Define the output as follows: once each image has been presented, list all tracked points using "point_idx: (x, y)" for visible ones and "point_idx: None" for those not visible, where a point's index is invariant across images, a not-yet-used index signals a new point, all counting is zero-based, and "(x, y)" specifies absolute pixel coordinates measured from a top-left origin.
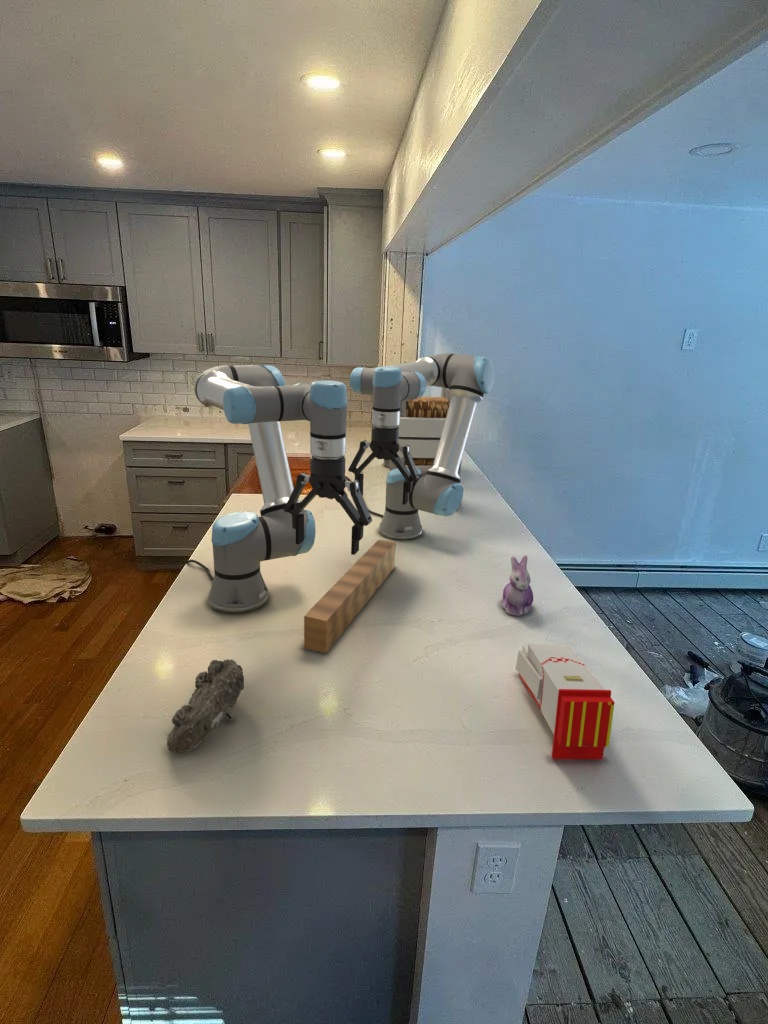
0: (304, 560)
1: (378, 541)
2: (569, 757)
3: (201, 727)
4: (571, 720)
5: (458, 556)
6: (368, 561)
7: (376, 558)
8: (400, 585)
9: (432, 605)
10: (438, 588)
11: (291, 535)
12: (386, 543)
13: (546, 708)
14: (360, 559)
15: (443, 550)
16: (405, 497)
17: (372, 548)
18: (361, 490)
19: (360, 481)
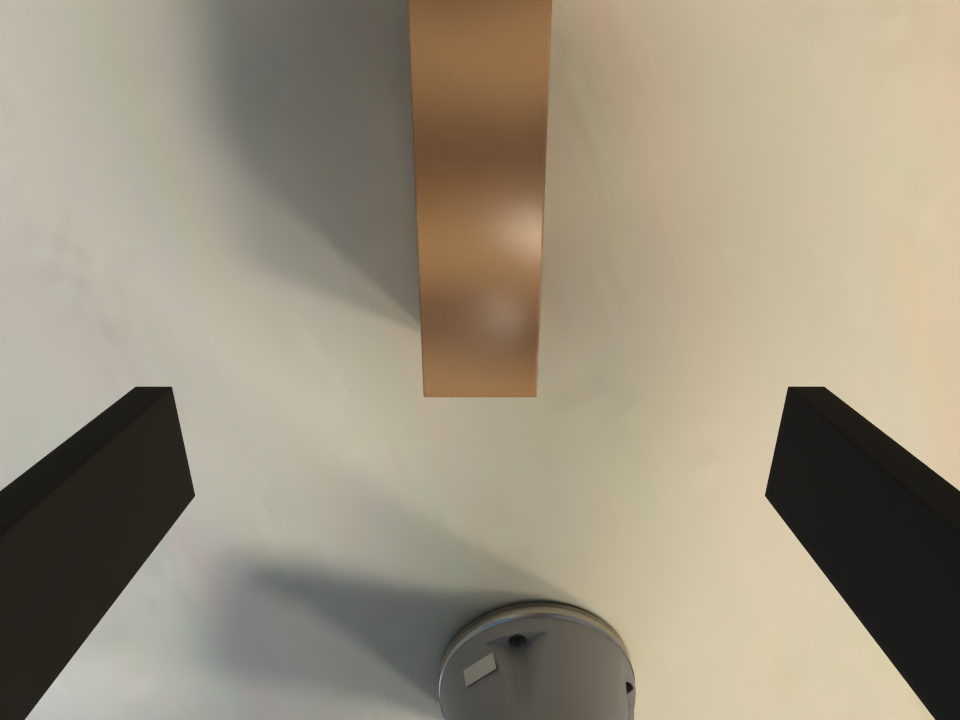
0: (900, 232)
1: (525, 368)
2: None
3: None
4: None
5: (218, 555)
6: (476, 22)
7: (443, 101)
8: (335, 164)
9: (96, 8)
10: (155, 213)
11: None
12: (469, 361)
13: None
14: (540, 31)
15: (299, 584)
16: (70, 441)
17: (524, 251)
18: (820, 492)
19: (952, 557)
